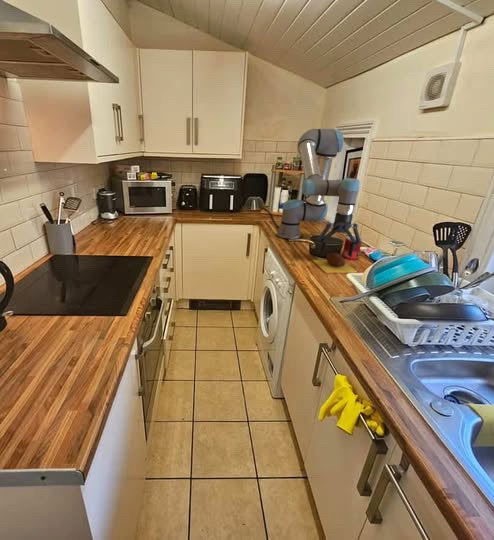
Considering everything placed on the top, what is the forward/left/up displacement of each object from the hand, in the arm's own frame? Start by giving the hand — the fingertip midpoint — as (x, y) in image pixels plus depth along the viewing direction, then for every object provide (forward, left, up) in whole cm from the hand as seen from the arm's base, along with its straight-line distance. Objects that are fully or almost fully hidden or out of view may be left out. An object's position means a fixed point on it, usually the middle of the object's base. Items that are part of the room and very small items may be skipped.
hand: (335, 255), depth 149 cm
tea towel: (0, 0, -6) cm, 6 cm away
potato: (0, 0, -6) cm, 6 cm away
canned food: (-14, +13, -6) cm, 20 cm away
